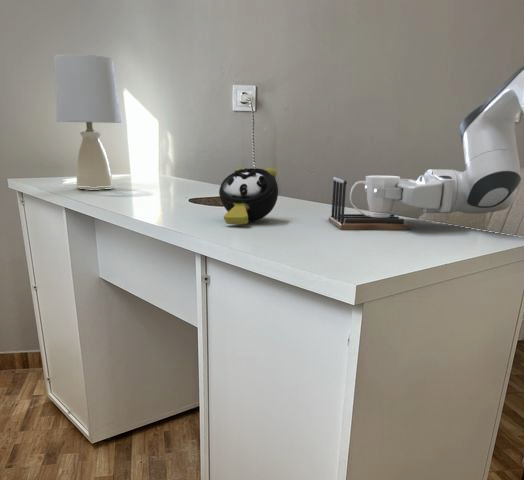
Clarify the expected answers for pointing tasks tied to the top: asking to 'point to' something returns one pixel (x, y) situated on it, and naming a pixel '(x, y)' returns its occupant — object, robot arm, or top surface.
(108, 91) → the lamp
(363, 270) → the top surface
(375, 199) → the cup
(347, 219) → the rack
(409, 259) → the top surface
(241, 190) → the alarm clock
